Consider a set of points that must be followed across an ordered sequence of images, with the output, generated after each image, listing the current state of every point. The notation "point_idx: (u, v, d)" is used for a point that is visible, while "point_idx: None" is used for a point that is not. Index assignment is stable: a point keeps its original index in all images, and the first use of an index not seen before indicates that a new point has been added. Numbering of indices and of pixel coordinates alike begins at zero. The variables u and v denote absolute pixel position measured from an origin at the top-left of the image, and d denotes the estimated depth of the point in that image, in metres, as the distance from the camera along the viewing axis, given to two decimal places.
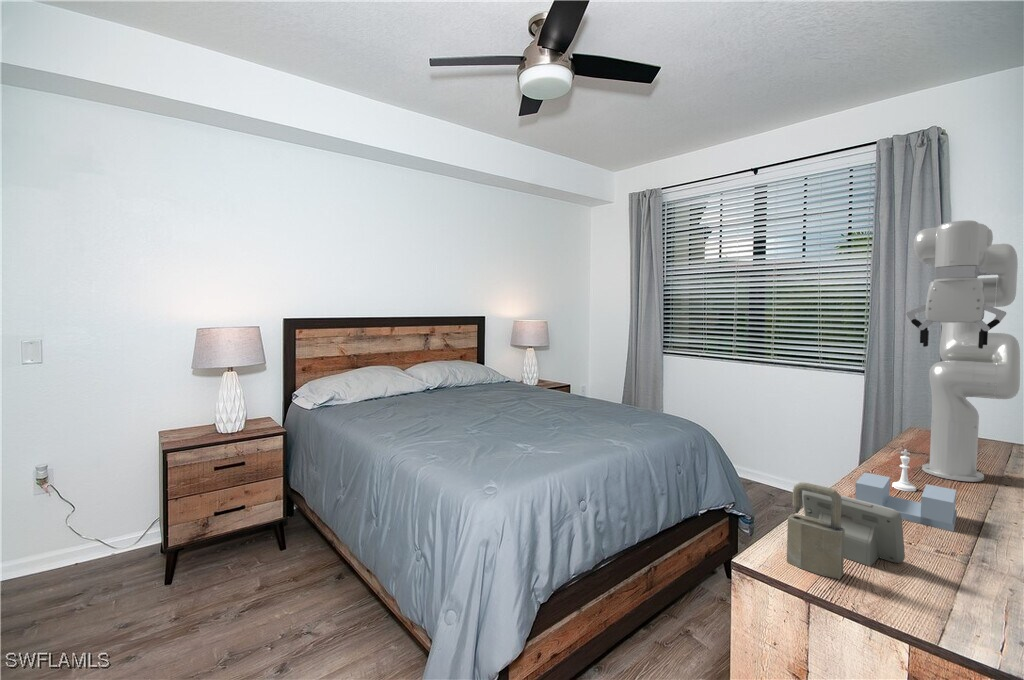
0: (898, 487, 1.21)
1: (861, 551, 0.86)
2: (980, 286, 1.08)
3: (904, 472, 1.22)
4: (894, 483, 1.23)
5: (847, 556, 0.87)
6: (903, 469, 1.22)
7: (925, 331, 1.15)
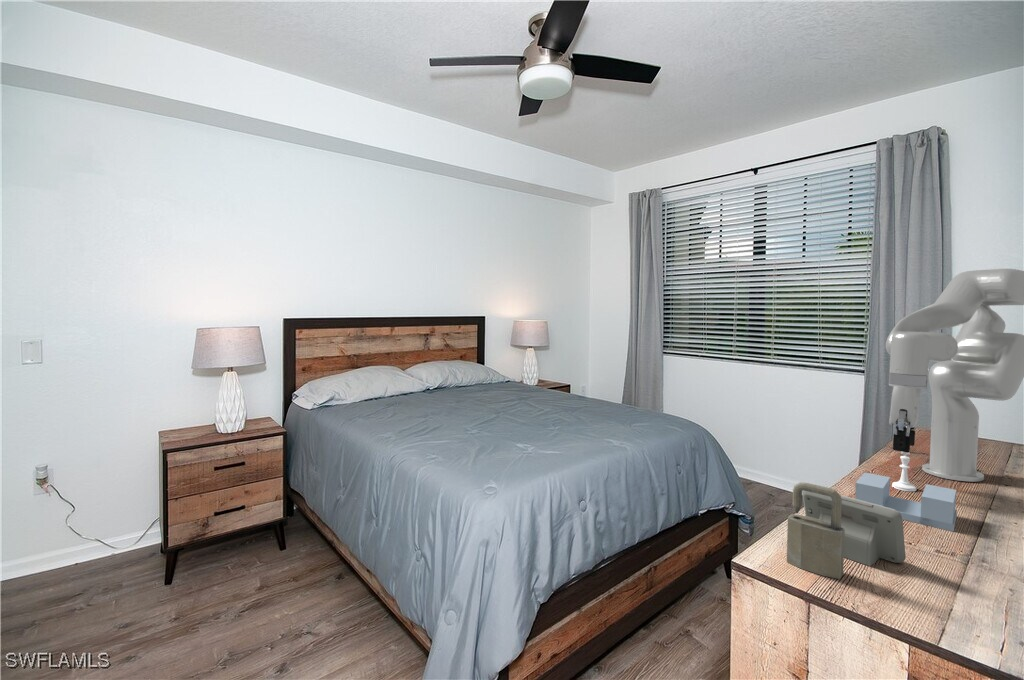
0: (898, 487, 1.21)
1: (862, 551, 0.86)
2: None
3: (904, 472, 1.22)
4: (894, 483, 1.23)
5: (848, 556, 0.87)
6: (903, 469, 1.22)
7: (910, 437, 1.17)
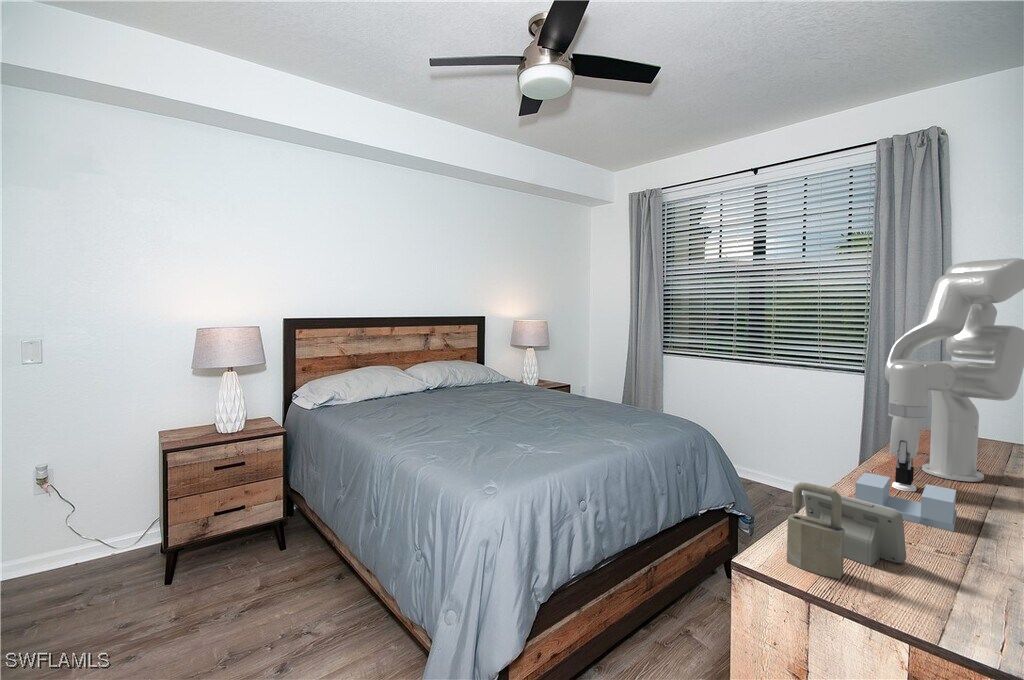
0: (898, 487, 1.21)
1: (862, 551, 0.86)
2: None
3: None
4: (894, 483, 1.23)
5: (848, 556, 0.87)
6: None
7: (912, 470, 1.20)
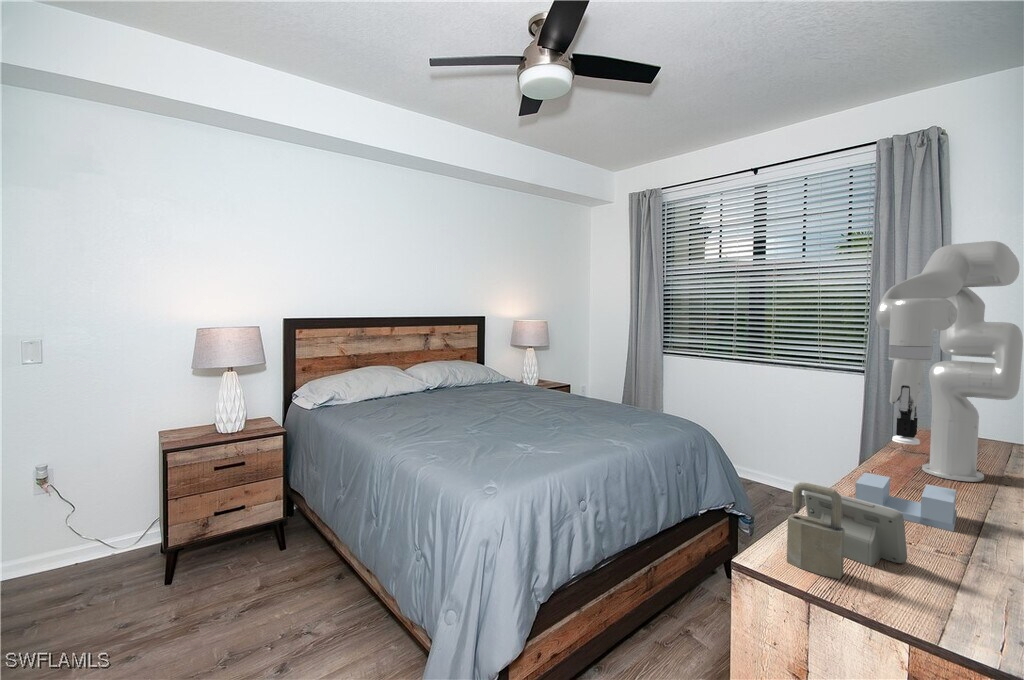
0: (899, 440, 1.06)
1: (863, 551, 0.86)
2: None
3: None
4: (895, 436, 1.08)
5: (849, 556, 0.87)
6: None
7: (915, 421, 1.05)
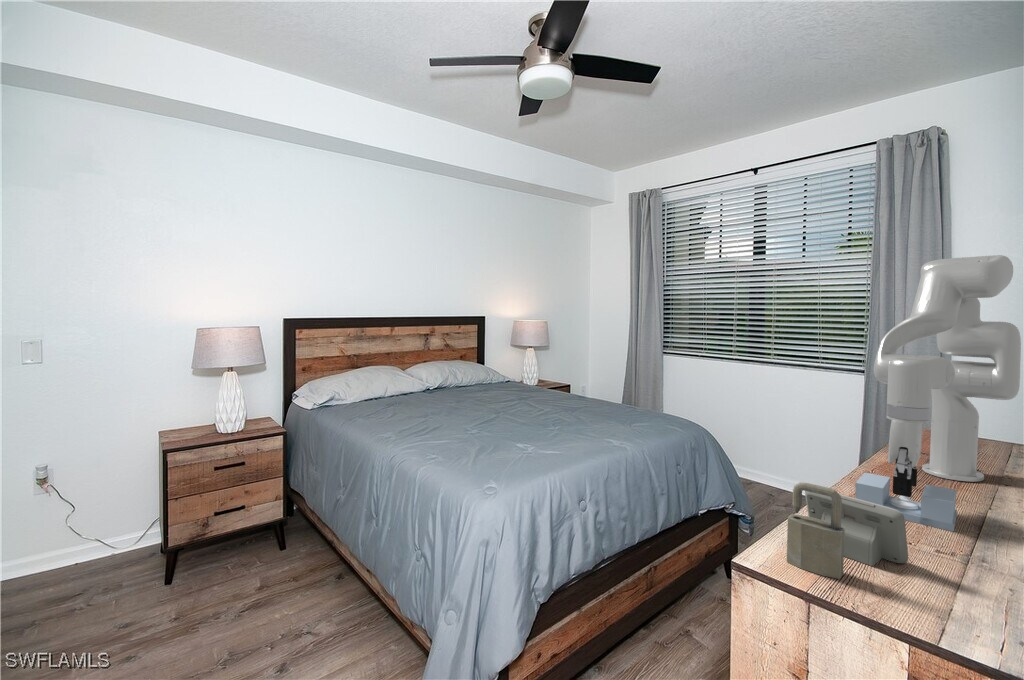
0: (898, 504, 1.07)
1: (864, 551, 0.86)
2: None
3: None
4: (893, 500, 1.08)
5: (849, 556, 0.87)
6: None
7: (912, 480, 1.03)
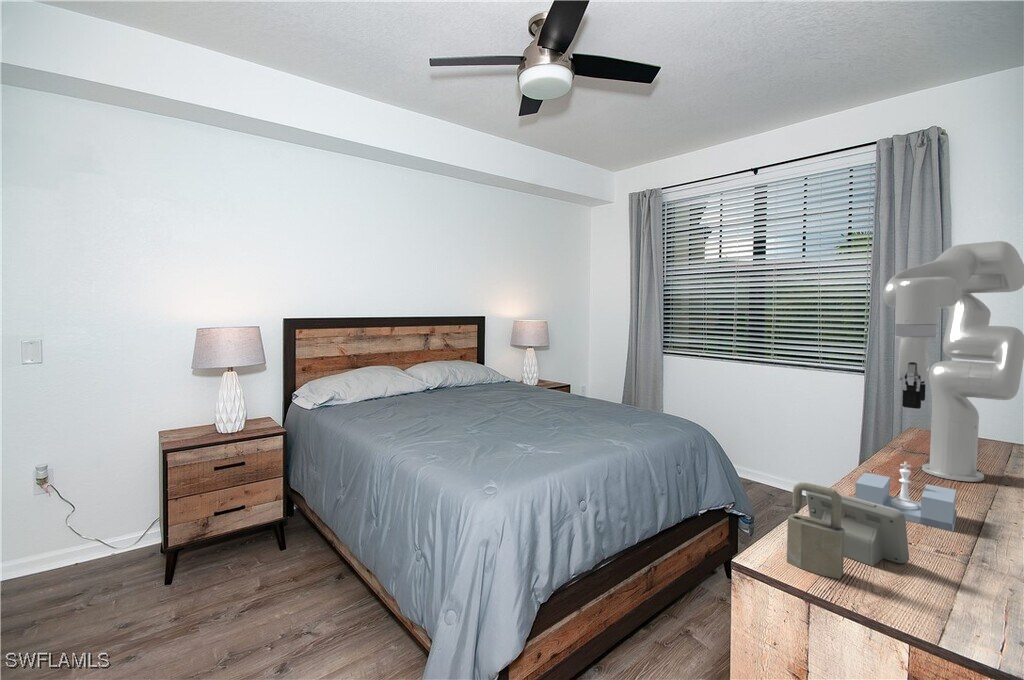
0: (898, 505, 1.07)
1: (864, 551, 0.86)
2: None
3: (904, 488, 1.07)
4: (893, 500, 1.08)
5: (850, 556, 0.87)
6: (903, 484, 1.07)
7: (921, 392, 1.08)
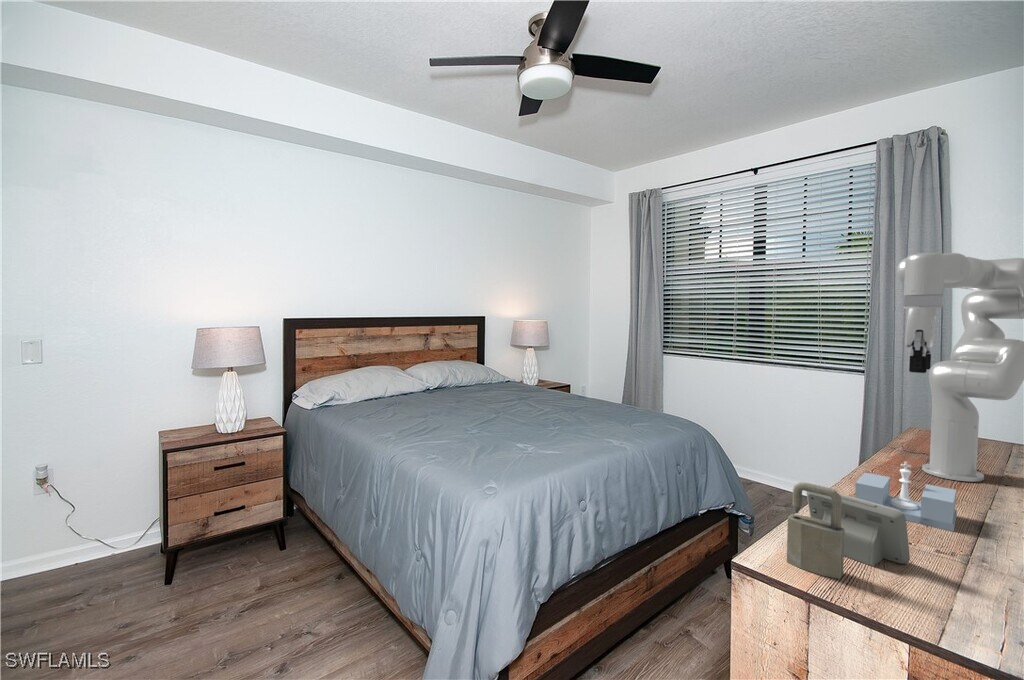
0: (898, 505, 1.07)
1: (865, 551, 0.86)
2: None
3: (904, 488, 1.07)
4: (893, 500, 1.08)
5: (851, 556, 0.88)
6: (903, 484, 1.07)
7: (926, 357, 1.16)
